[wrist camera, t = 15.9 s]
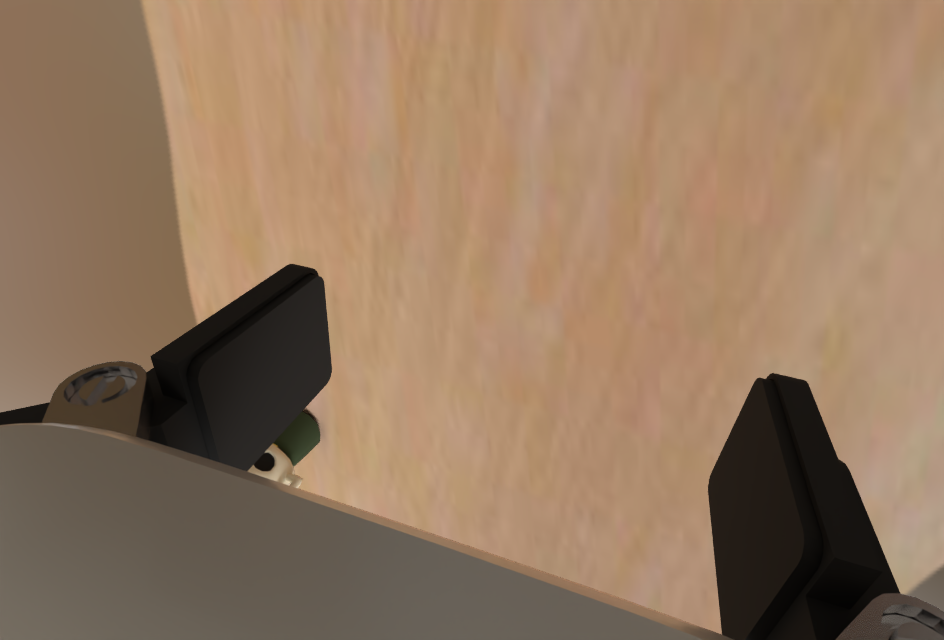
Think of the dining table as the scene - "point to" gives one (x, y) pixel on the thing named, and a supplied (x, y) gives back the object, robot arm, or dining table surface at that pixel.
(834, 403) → the dining table surface
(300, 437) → the character mug
